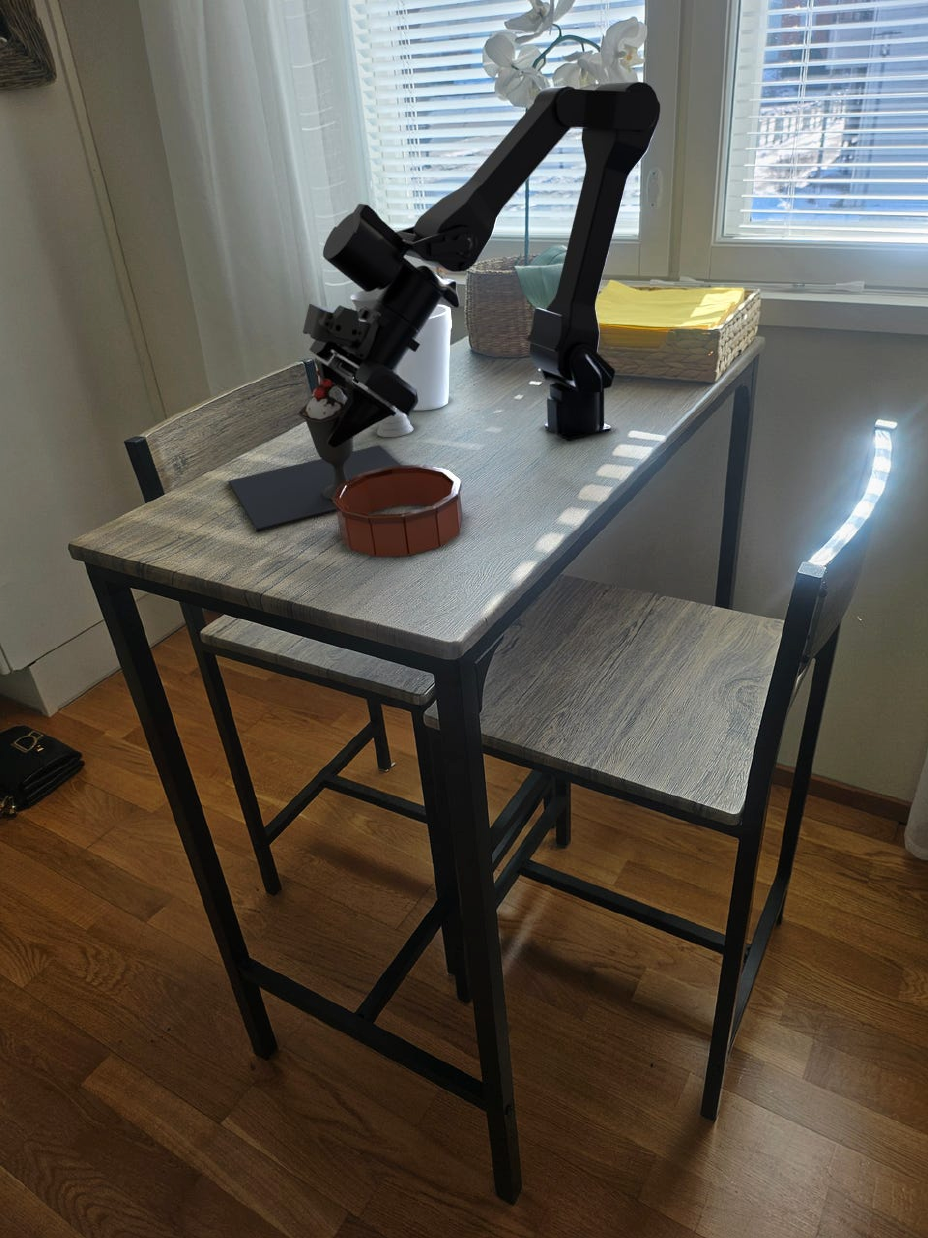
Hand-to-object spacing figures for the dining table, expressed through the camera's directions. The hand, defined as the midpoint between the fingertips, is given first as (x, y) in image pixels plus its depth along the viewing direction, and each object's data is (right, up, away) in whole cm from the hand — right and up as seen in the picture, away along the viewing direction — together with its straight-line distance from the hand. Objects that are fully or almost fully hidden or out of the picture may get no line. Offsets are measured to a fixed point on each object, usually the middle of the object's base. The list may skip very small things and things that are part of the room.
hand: (320, 436), depth 99 cm
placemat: (-1, -4, +7) cm, 9 cm away
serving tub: (+10, -11, -4) cm, 15 cm away
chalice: (+7, +5, +22) cm, 24 cm away
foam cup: (+11, +11, +31) cm, 34 cm away
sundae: (+2, -6, +4) cm, 7 cm away
